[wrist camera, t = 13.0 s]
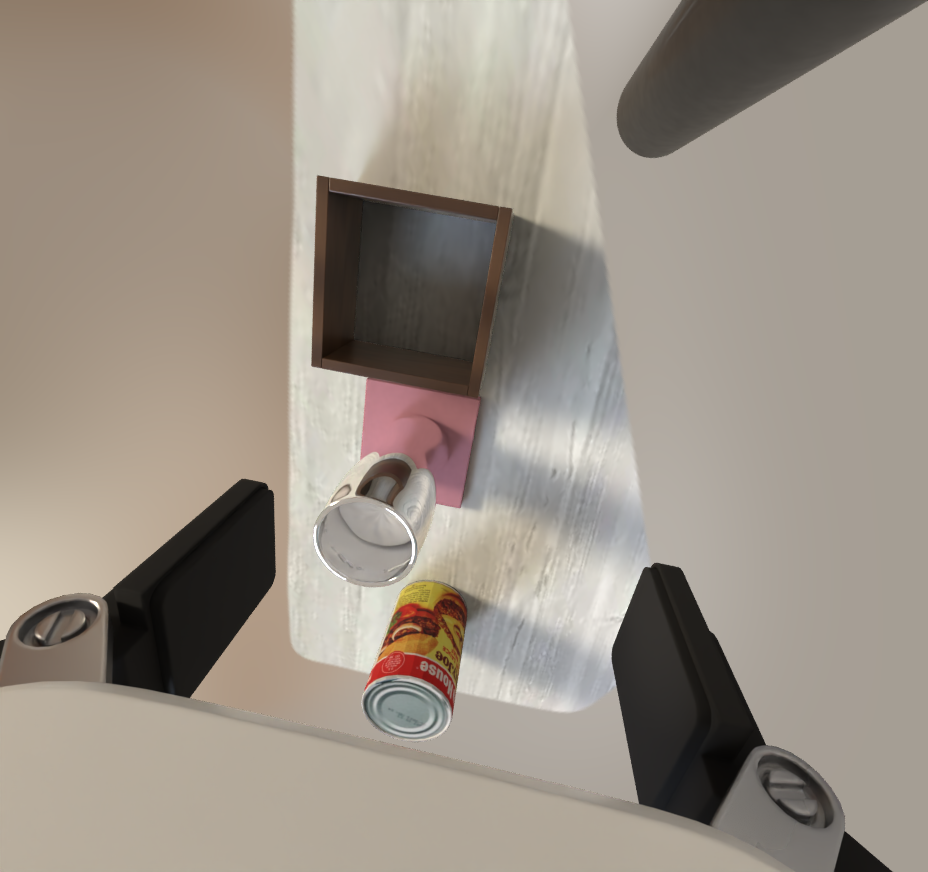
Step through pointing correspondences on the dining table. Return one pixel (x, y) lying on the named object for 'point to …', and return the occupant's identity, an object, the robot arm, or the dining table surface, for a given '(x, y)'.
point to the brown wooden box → (340, 280)
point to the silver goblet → (384, 506)
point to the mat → (439, 406)
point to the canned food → (417, 664)
